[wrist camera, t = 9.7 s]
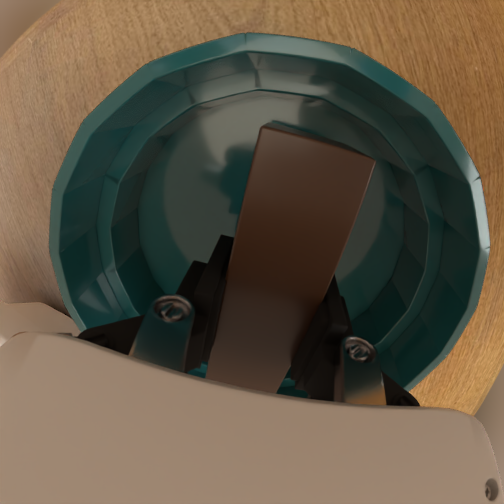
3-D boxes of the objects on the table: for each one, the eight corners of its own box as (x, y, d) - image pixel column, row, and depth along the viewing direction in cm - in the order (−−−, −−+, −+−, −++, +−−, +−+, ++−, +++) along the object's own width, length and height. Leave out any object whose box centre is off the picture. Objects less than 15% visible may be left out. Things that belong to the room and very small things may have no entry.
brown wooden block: (267, 121, 9) (260, 124, 6) (347, 144, 9) (378, 160, 6) (213, 355, 15) (199, 406, 12) (266, 367, 15) (261, 420, 12)
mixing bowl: (449, 115, 11) (533, 130, 5) (368, 359, 19) (384, 433, 13) (123, 71, 12) (36, 63, 6) (138, 328, 20) (101, 395, 14)
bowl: (221, 349, 19) (194, 457, 12) (149, 431, 29) (130, 486, 21) (5, 211, 16) (-69, 262, 9) (15, 346, 25) (-18, 390, 18)
